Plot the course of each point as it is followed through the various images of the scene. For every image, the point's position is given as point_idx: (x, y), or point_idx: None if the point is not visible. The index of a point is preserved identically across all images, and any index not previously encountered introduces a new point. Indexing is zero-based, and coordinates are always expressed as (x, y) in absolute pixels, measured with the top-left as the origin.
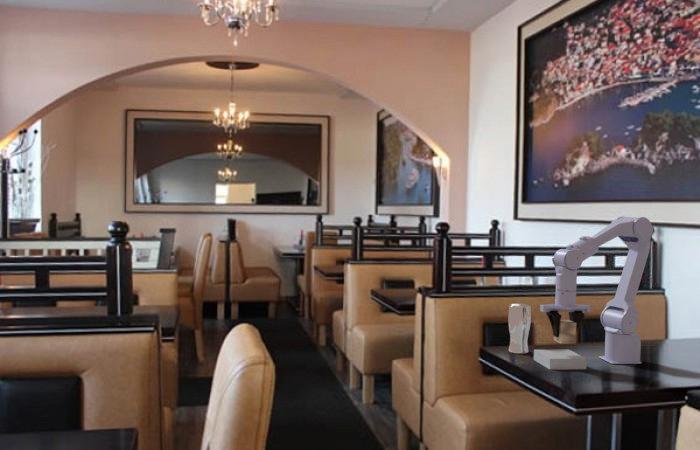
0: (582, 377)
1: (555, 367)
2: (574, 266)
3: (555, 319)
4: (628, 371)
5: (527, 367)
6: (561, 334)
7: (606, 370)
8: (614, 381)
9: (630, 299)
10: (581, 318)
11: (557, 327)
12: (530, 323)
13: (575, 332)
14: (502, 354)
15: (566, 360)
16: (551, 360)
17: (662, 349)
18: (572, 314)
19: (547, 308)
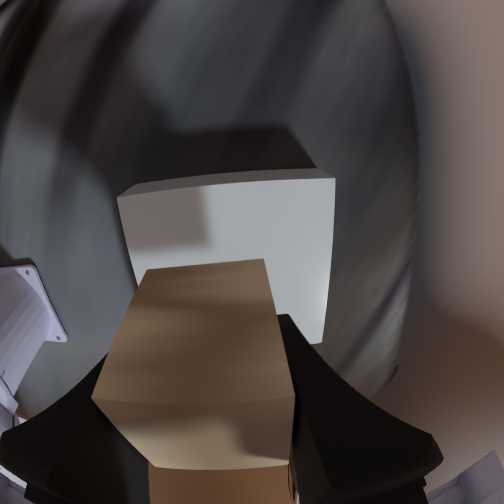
0: (215, 37)
1: (291, 170)
2: None
3: (387, 419)
4: (7, 175)
5: (392, 202)
6: (270, 299)
7: (63, 174)
8: (105, 9)
9: None
10: (30, 428)
11: (313, 363)
12: (293, 471)
13: (125, 323)
14: (374, 356)
15: (234, 181)
16: (323, 175)
17: None
18: (120, 500)
19: (474, 502)
